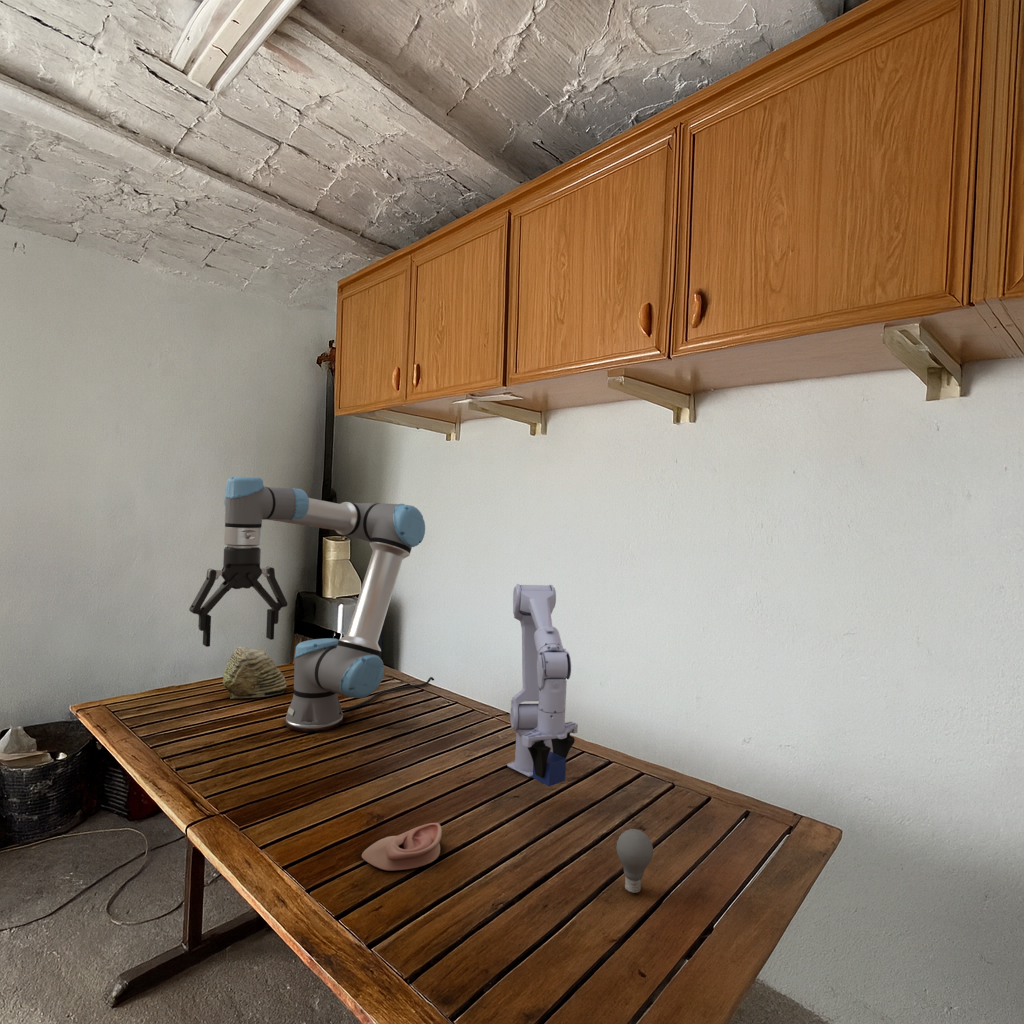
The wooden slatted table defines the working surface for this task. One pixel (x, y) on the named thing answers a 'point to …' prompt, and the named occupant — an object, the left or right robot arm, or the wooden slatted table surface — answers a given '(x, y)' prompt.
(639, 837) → the light bulb
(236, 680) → the fossil
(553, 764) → the blue cube
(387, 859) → the anatomical model
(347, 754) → the wooden slatted table surface
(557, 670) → the right robot arm
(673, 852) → the wooden slatted table surface
